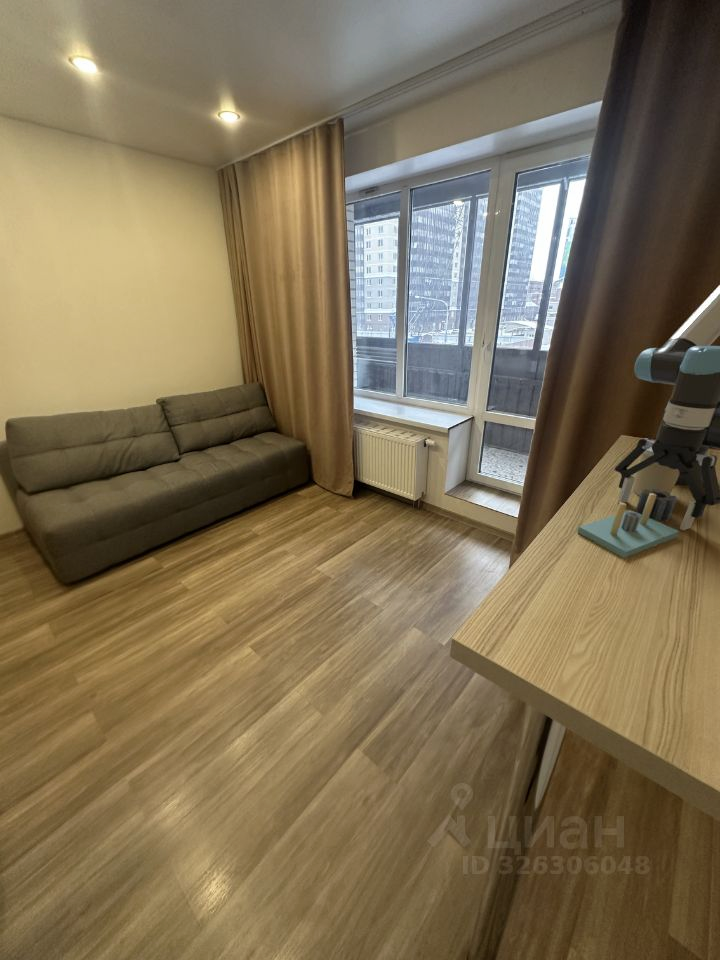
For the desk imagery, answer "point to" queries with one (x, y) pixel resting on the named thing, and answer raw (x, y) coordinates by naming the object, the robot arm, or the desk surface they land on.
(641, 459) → the coffee cup
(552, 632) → the desk surface
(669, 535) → the carrier
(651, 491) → the gear
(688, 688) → the desk surface
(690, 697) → the desk surface
